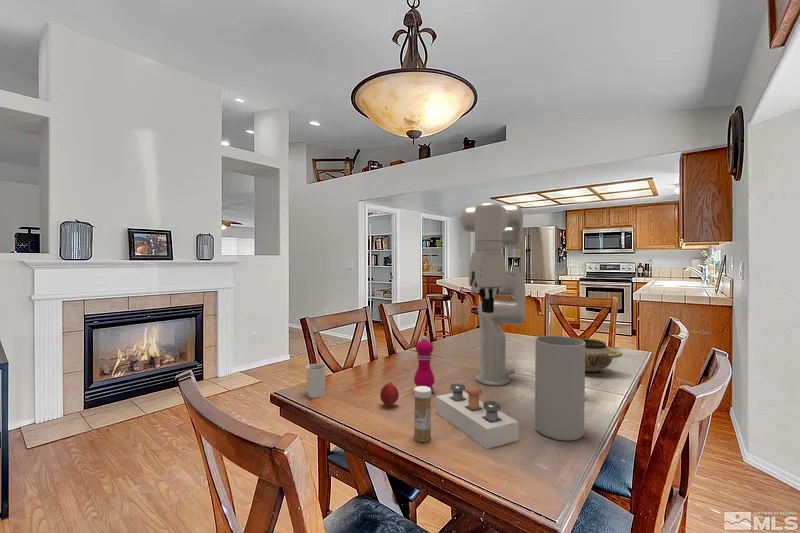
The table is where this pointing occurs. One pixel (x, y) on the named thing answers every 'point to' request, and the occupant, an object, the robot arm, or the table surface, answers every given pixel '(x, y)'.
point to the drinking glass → (316, 380)
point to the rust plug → (473, 397)
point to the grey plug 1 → (457, 391)
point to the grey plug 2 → (491, 410)
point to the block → (477, 421)
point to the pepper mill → (424, 364)
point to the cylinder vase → (560, 387)
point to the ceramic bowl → (597, 356)
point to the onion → (389, 394)
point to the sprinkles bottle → (422, 414)
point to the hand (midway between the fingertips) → (487, 312)
